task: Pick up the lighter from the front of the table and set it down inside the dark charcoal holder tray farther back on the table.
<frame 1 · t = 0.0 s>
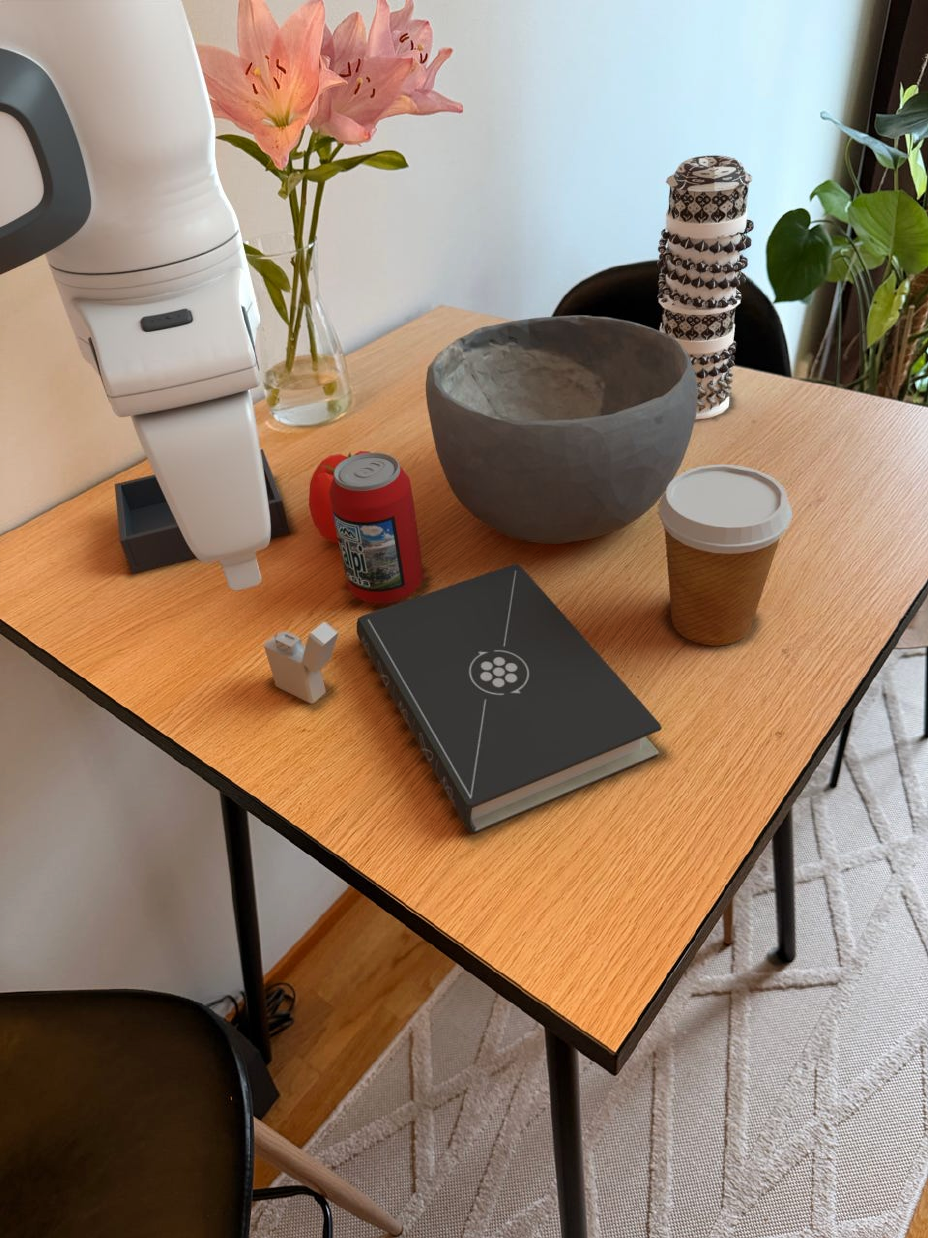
hand: (232, 536, 53), 20 cm above the table, tool pointing down, fingers open, 8 cm apart
book: (497, 698, 69), on the table
disposable coffee cup: (710, 622, 74), on the table
bowl: (559, 508, 89), on the table
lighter: (314, 696, 71), on the table
patterned white cylinder: (691, 403, 103), on the table
beverage can: (387, 588, 81), on the table
tomato: (362, 536, 88), on the table
holder: (206, 524, 91), on the table
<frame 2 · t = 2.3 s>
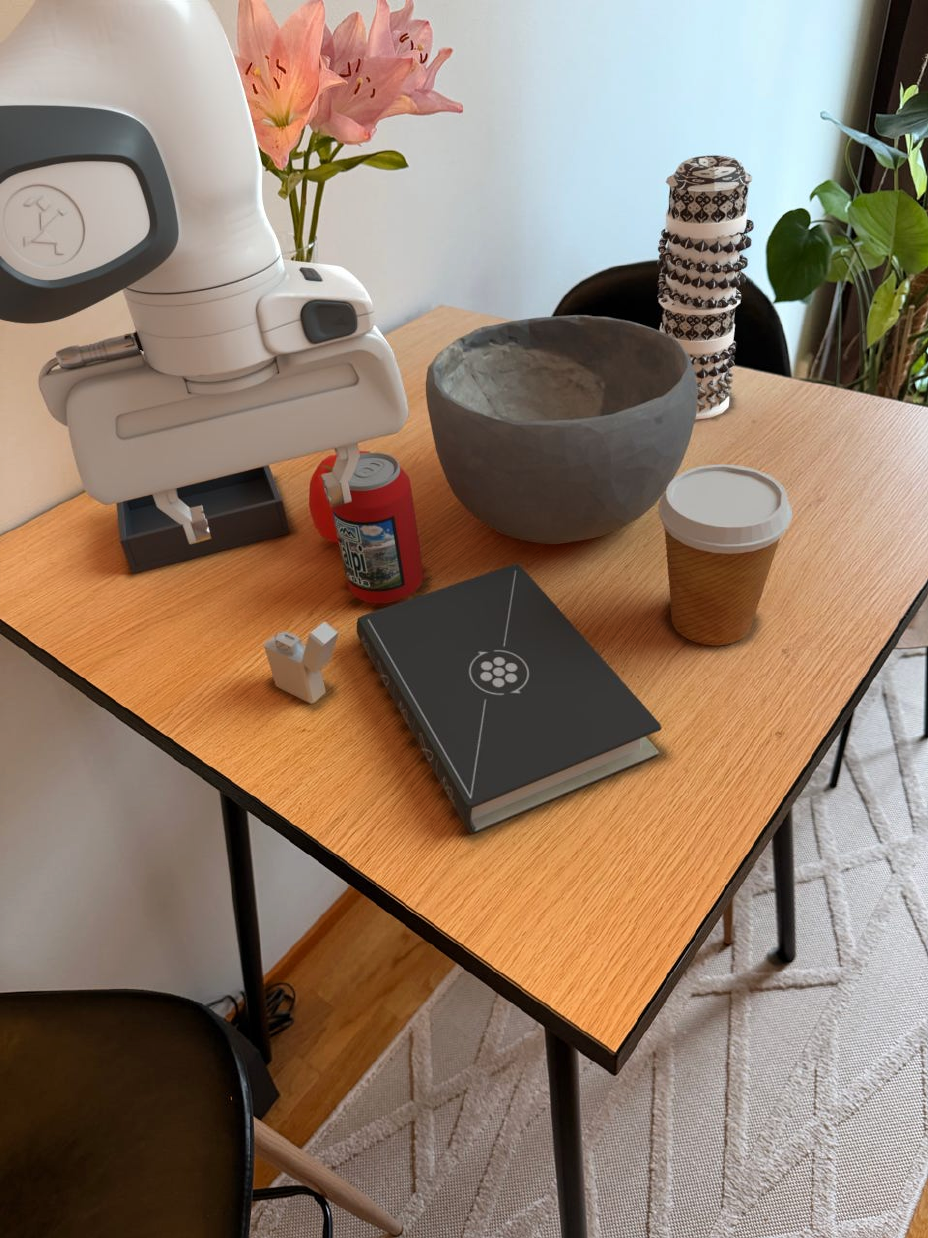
hand: (270, 518, 60), 16 cm above the table, tool pointing down, fingers open, 8 cm apart
nothing on the table moved.
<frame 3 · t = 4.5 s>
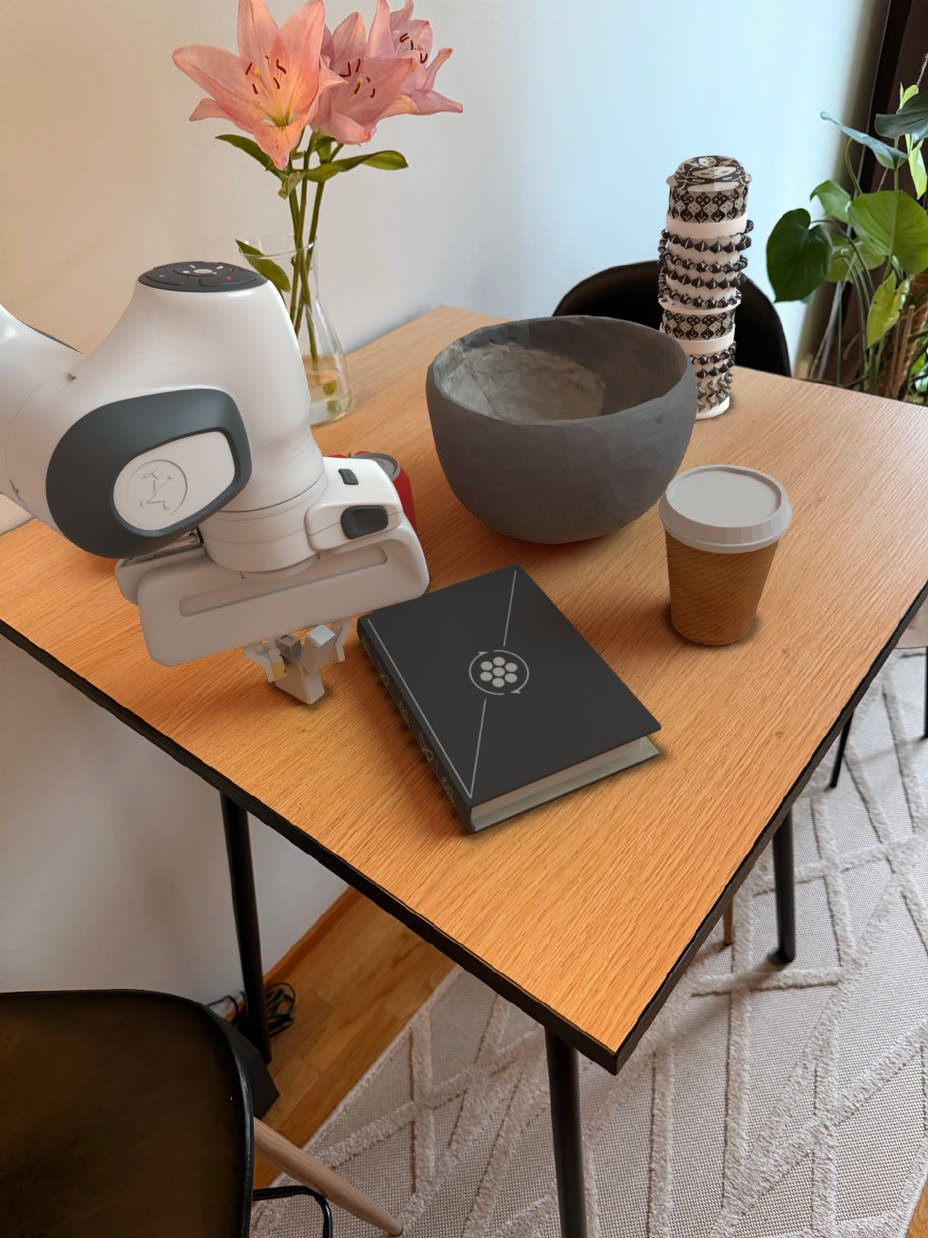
hand: (306, 666, 69), 3 cm above the table, tool pointing down, fingers closed on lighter, 3 cm apart
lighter: (313, 697, 71), on the table, touching gripper
everything else where it was.
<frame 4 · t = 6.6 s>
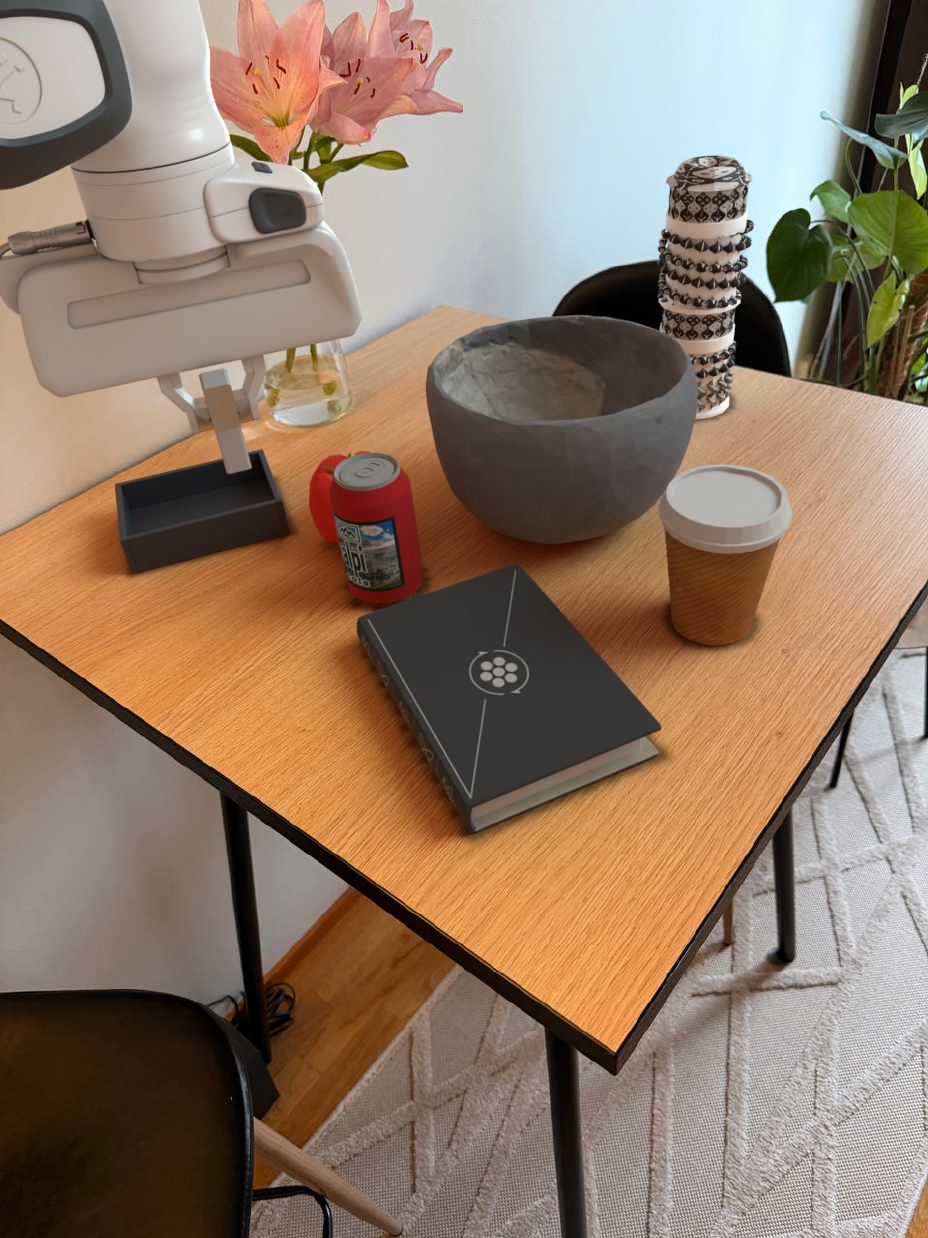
hand: (226, 423, 61), 21 cm above the table, tool pointing down, fingers closed on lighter
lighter: (239, 470, 63), point 18 cm above the table, touching gripper
everything else where it was.
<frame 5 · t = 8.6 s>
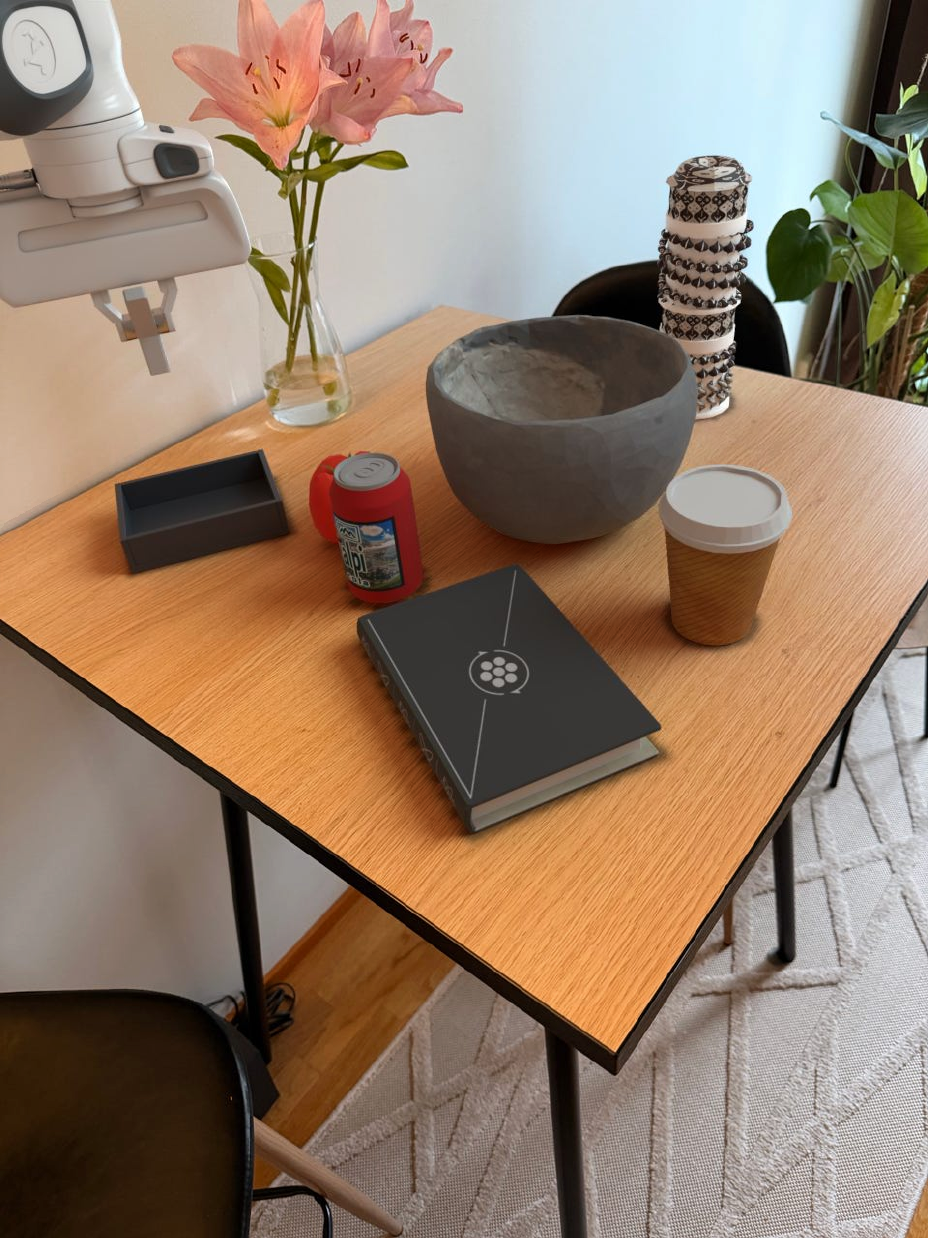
hand: (148, 334, 78), 20 cm above the table, tool pointing down, fingers closed on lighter
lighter: (160, 373, 80), point 17 cm above the table, touching gripper
everything else where it was.
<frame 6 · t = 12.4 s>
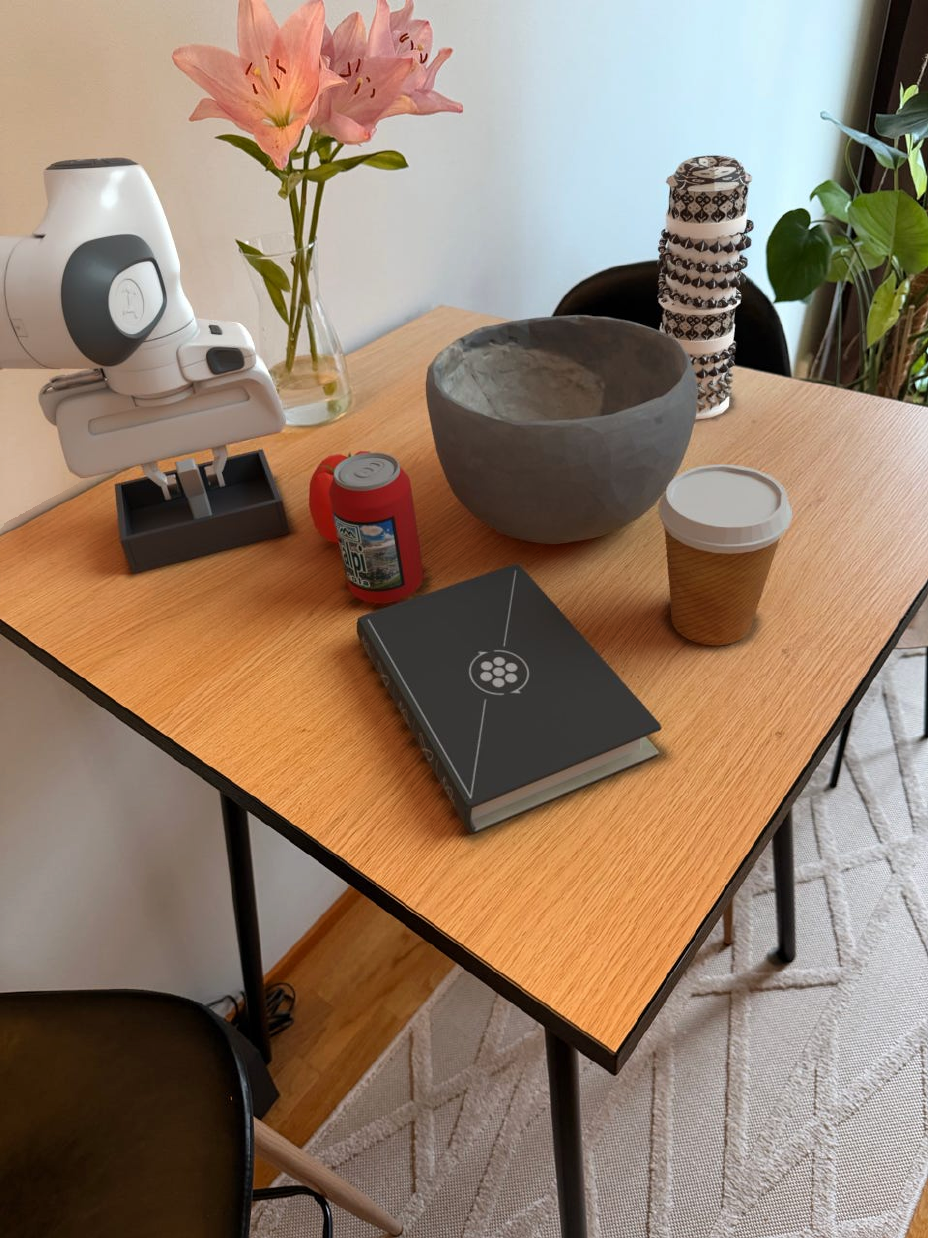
hand: (195, 490, 89), 4 cm above the table, tool pointing down, fingers open, 3 cm apart
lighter: (204, 520, 91), point 1 cm above the table, touching holder
everything else where it was.
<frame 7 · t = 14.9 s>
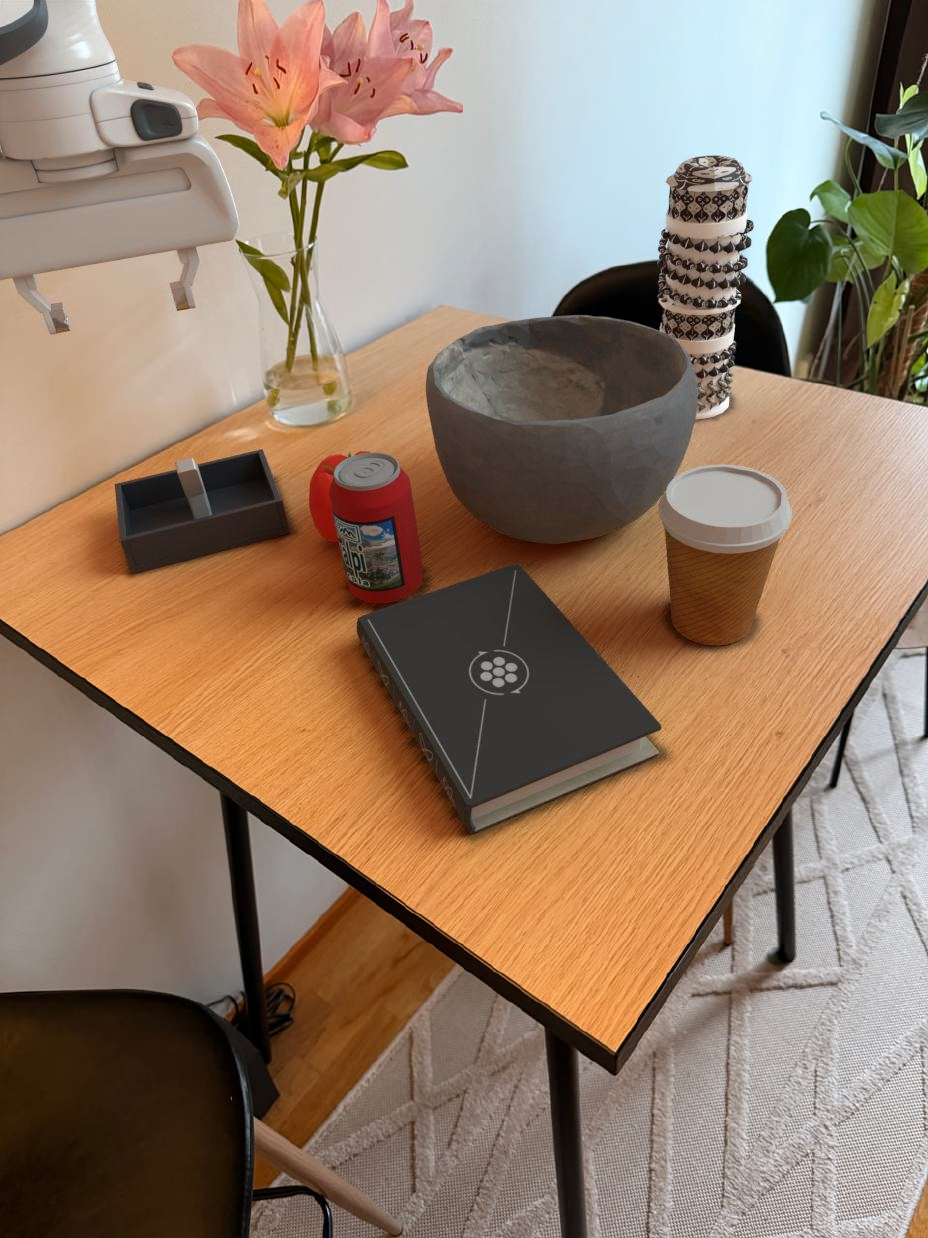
hand: (124, 318, 70), 24 cm above the table, tool pointing down, fingers open, 8 cm apart
nothing on the table moved.
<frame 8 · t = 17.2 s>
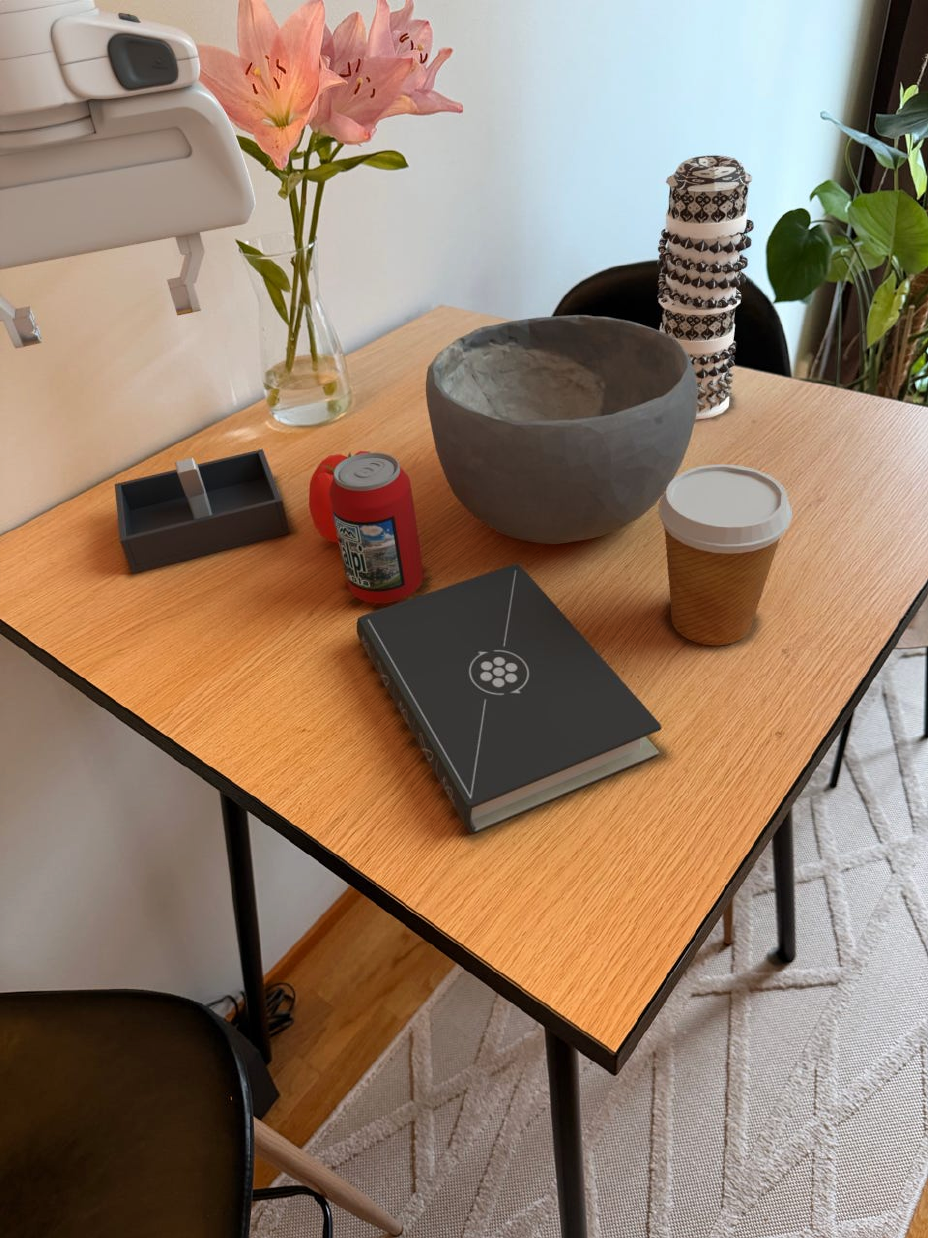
hand: (110, 326, 55), 29 cm above the table, tool pointing down, fingers open, 8 cm apart
nothing on the table moved.
at the end: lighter inside the target area in the holder (0.3 cm from its centre), point 0.6 cm above the holder's base; the gripper is holding nothing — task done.
